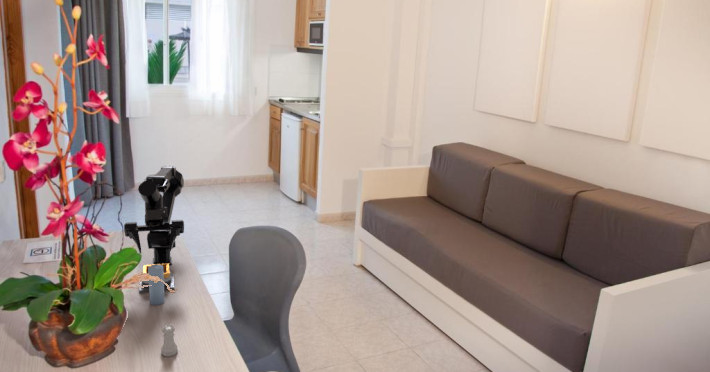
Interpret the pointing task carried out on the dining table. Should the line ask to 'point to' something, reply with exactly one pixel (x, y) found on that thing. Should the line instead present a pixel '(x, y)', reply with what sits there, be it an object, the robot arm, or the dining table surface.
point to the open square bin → (167, 278)
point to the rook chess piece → (169, 342)
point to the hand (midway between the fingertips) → (155, 251)
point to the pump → (156, 285)
